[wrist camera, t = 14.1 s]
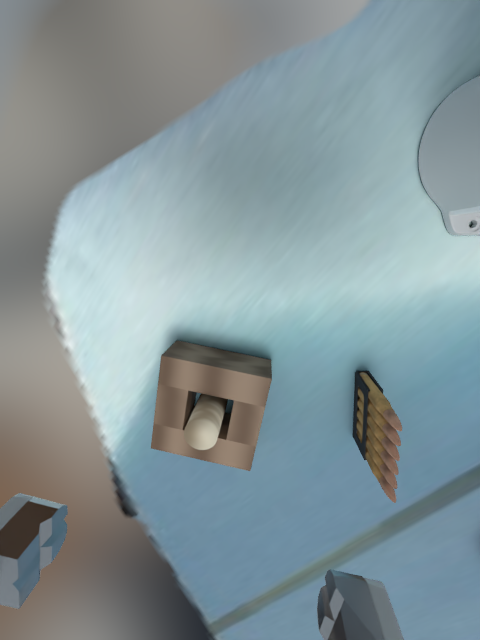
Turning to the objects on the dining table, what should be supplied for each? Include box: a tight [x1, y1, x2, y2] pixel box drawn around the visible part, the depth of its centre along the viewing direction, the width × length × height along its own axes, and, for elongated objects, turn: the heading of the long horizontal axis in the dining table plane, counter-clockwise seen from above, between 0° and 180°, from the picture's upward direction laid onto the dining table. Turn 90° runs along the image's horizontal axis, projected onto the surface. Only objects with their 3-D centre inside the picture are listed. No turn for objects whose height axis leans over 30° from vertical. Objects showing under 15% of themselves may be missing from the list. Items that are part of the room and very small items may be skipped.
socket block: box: [151, 340, 272, 471], centre depth 39 cm, size 14×14×6 cm
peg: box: [184, 393, 228, 450], centre depth 37 cm, size 4×4×10 cm
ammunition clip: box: [353, 371, 402, 503], centre depth 34 cm, size 11×2×12 cm, turn 4°
